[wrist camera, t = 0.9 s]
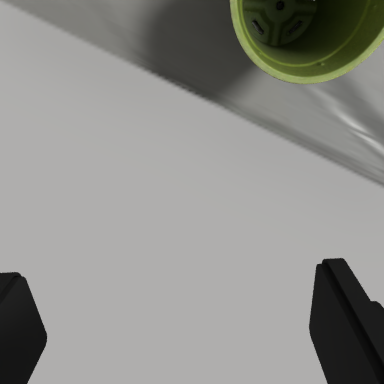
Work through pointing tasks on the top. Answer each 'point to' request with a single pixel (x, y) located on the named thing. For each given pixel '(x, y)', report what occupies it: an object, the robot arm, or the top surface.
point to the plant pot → (308, 36)
